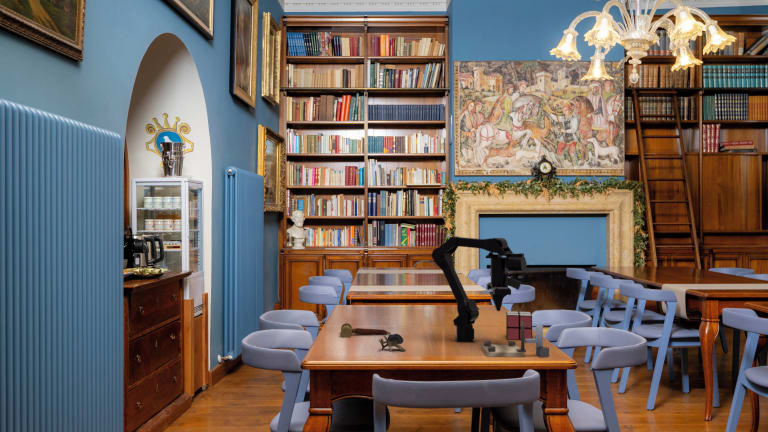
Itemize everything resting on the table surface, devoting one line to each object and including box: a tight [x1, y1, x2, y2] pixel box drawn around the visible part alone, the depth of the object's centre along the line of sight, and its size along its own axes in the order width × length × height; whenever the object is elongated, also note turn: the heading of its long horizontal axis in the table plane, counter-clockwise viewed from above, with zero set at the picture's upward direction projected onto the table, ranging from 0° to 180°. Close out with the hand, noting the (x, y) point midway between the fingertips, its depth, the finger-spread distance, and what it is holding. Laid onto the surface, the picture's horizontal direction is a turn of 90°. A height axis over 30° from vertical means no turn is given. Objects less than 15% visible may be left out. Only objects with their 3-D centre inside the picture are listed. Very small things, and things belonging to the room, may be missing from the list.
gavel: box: [340, 322, 392, 339], centre depth 231 cm, size 21×5×10 cm
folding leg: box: [525, 324, 544, 355], centre depth 195 cm, size 7×2×10 cm, turn 104°
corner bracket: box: [536, 346, 550, 358], centre depth 193 cm, size 2×4×3 cm, turn 104°
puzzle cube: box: [505, 311, 533, 341], centre depth 225 cm, size 10×10×10 cm
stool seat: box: [480, 321, 526, 358], centre depth 199 cm, size 14×13×12 cm
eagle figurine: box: [378, 333, 407, 353], centre depth 202 cm, size 8×7×9 cm
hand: (498, 310), depth 212 cm, fingers closed
